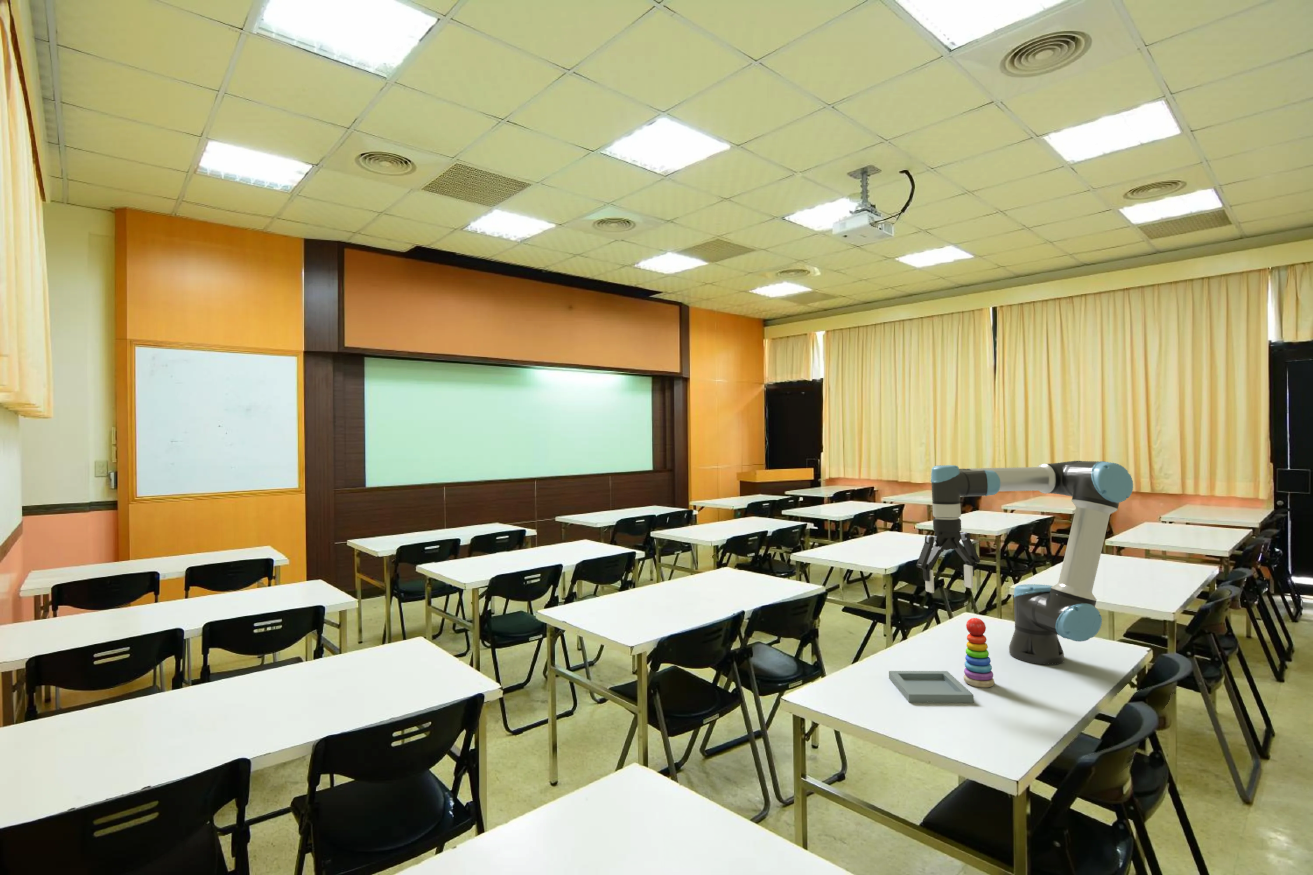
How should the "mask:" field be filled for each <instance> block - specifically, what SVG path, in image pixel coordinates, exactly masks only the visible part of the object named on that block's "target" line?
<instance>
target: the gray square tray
mask: <svg viewBox="0 0 1313 875" xmlns="http://www.w3.org/2000/svg"><path fill="white" fill-rule="evenodd" d="M888 679H889V680H890V681H891V683H892V684H893V685H894V687H896V689H897V690H898V691H899V692H900V693H901V695H902V696H903V697H904V698H905V700H906V701H907V702H908V703H913V704H914V703H915V704H916V703H920V704H921V703H922V704H926V703H927V704H928V703H929V704H931V703H933V704H936V703H937V704H941V703H945V704H946V703H948V704H949V703H950V704H955V703H956V704H973V703H974V699H975V698H974V697H975V696H974V694H973V693H972V691H970V690H969V689H968V688H967V687H966V686H964V684H962V683H961V682H960V681H959V680H958V679H957V678H956V677H954V675H953V674H951V673H950V672H949V671H948V670H888Z"/></svg>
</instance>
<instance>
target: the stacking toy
mask: <svg viewBox="0 0 1313 875" xmlns="http://www.w3.org/2000/svg"><path fill="white" fill-rule="evenodd" d="M965 627H966V630H967V631H968V633H969V634H967V635H966V640H967V642H966V649H965V653H966V655H965V656H964V657H965V662H964V671H963V673H964V674H963V681H964V682H965V683H966V684H968V685H969V686H972V687H976V688H983V689H984V688H990V687H992V686H994V685H995V679H994V673H993V671H992V669H993V667H992V665H991V658H990V657H989V655H990V654H989V653H990V652H989V651H988V648H989V647H988V643H986V642H987V637H986V635H984V634H985V633H986V631H987V627H986V623H985V622H984V621H983V619H980V618H979V617H978V618H977V617H971V618H970V619H968V620H967V621H966V625H965Z"/></svg>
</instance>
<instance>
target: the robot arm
mask: <svg viewBox="0 0 1313 875" xmlns="http://www.w3.org/2000/svg"><path fill="white" fill-rule="evenodd" d="M930 476H931V478H930V483H931V500H932V517H933V519H932V529H933V531H934V535H928V534H926V535H925V536H924V543H923V546H922V549H921V552H920V554H919V557H918V560H917V563H916V564H915V566H916V568H920V569H921V570H922V577H923V580H924V582H925V584H924V585H925V591H926V592H927V593H929V594H934V593H935V580H934V570H933V569H932V568H933V566H934V565H935V563H936V561H937V560H938V559H939V557H940V555H941V553H943V552H944V551H948V550H955V551H956V553H957V554H958V555H959V557H960V558H961V559H962V560H963V561H964V562H965V564H963V576H964V577H963V578H964V579H963V580H964V581H963V582H964V584H963V585H964V587H965V588H969V589H974V576H975V567H977V566H978V564H979V563H980V562H981V559H980V557H979V555H978V553H977V551H976V550H977V549H975V547H974V544H973V543H972V540H971V534H970V532H965V531H962V520H961V518H960V517H961V516H962V511H961V498H964V497H987V496H994V495H996V494H998V493H999V492H1029V491H1030V492H1034V491H1036V492H1038V491H1039V493H1042V494H1045V495H1046V494H1053V495H1061V496H1068V497H1071V502H1072V504H1074V506H1075V511H1074V514H1073V519H1072V523H1071V527H1070V532H1069V534H1068V535H1069V536H1068V540H1067V544H1066V549H1065V553H1064V558H1063V562H1062V565H1061V570H1060V574H1059V579H1058V582H1057V583H1055V585H1051V584H1050V585H1049V584H1040V583H1039V584H1038V583H1037V584H1036V583H1032V584H1030V583H1029V584H1028V583H1026V584H1018V585H1016V586H1015V587H1014V591H1013V603H1014V604H1013V606H1014V608H1013V609H1014V630H1013V631H1014V632H1013V634H1012V637H1011V640H1010V643H1009V645H1008V654H1009V655H1010V656H1012V657H1013V658H1015V659H1017V660H1020V661H1023V662H1027V663H1032V664H1037V665H1046V666H1047V665H1050V666H1051V665H1059V664H1063V663H1064V662H1065V653H1064V649H1063V647H1062V645H1061V641H1060V639H1059V637H1058V636H1060V637H1061V638H1062V639H1067V640H1071V641H1074V642H1086V641H1088V640H1090V639H1092V638H1094V637H1095V636H1096V635H1097V634H1098V633H1099V631H1100V630H1101V627H1102V624H1103V623H1102V622H1103V617H1102V615H1101V612H1100V611H1099V609H1098V608H1097V607H1096V604H1097V598H1096V597H1095V595H1094V594H1093V589H1094V585H1095V580H1096V577H1097V576H1096V575H1097V572H1098V567H1099V563H1100V559H1101V556H1102V550H1103V546H1104V541H1105V538H1106V532H1107V529H1108V524H1109V521H1110V515H1111V514H1113V513H1116V512H1117V511H1119V505H1120V503H1122V502H1125V501H1126V500H1127V499H1129V498H1130V497H1131V495H1132V494H1133V490H1134V481H1133V477H1132V475H1131V474H1130V473H1129V471H1128V469H1127V468H1126V467H1124V466H1123V465H1121V464H1119V463H1115V462H1110V461H1104V460H1101V461H1098V460H1097V461H1093V460H1089V461H1088V460H1087V461H1086V460H1072V461H1071V460H1070V461H1062V462H1054V463H1053V462H1052V463H1040V464H1039V465H1037V466H1029V467H1028V466H1021V467H1018V466H1017V467H981V468H978V467H977V468H972V467H971V468H959V466H958V465H956V464H955V465H954V464H950V465H949V464H947V465H945V464H944V465H934V466H932V468H931V473H930ZM960 541H961V542H962V543H961V542H960Z"/></svg>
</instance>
